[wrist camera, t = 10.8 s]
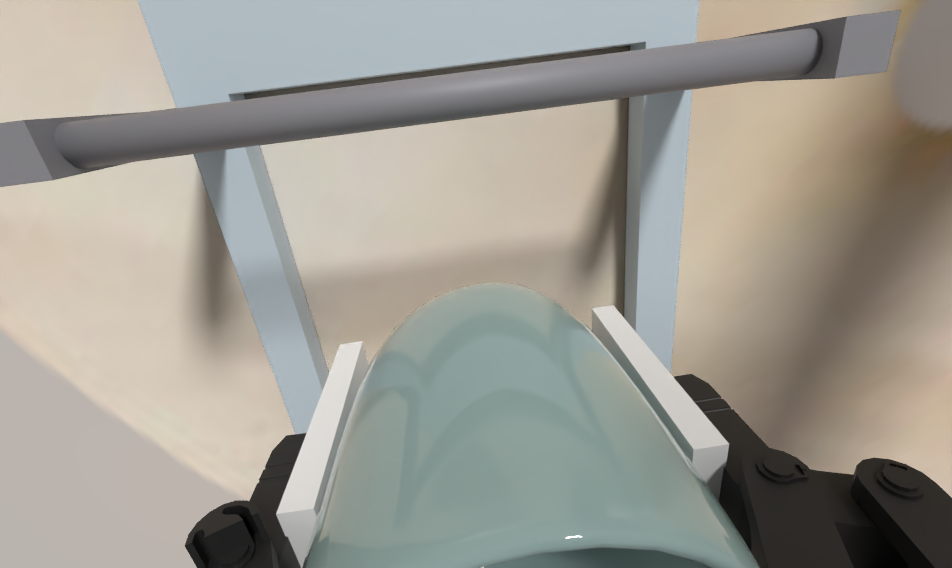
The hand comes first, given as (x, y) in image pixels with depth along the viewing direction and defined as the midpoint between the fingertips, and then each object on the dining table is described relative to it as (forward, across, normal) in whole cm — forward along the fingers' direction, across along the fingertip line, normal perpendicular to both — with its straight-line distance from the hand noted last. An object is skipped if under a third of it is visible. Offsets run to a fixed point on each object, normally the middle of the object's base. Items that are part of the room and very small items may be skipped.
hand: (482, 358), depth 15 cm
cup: (+1, 0, 0) cm, 1 cm away
